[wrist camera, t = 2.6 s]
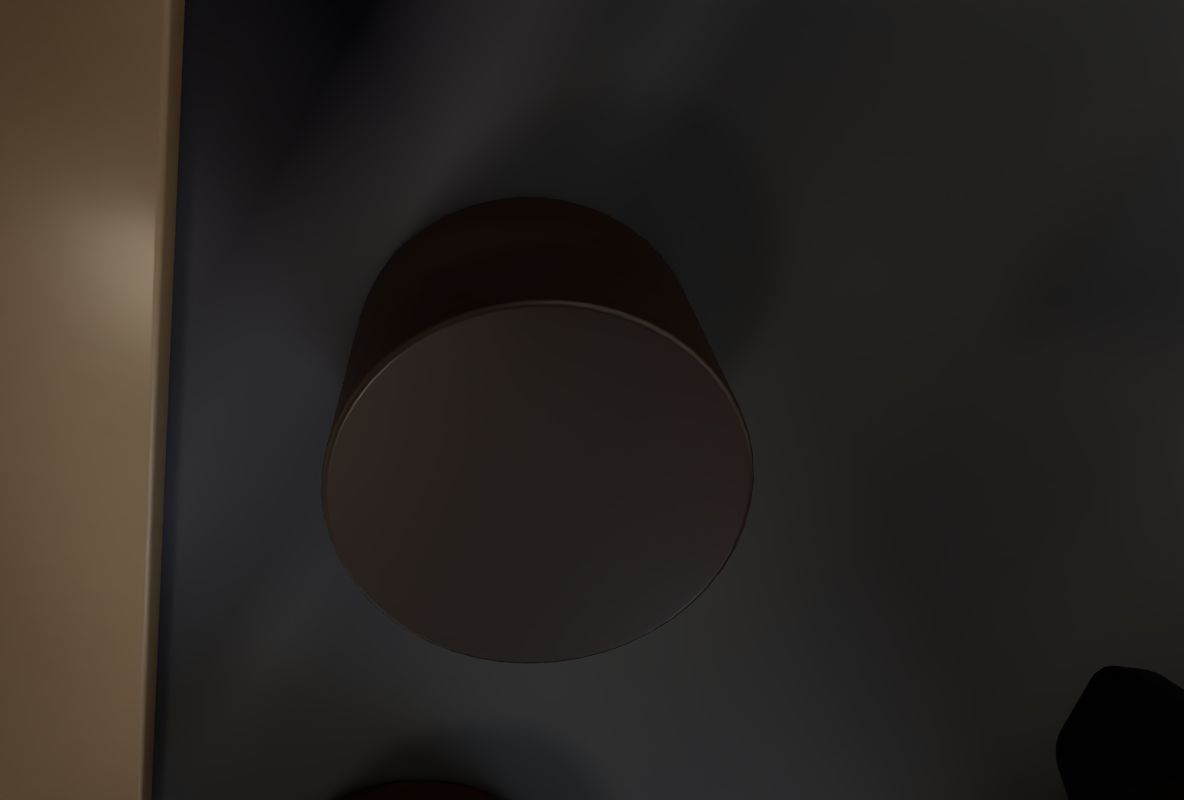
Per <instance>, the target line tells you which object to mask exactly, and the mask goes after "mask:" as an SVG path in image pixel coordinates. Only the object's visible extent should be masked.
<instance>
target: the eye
mask: <svg viewBox="0 0 1184 800" xmlns="http://www.w3.org/2000/svg"><path fill="white" fill-rule="evenodd" d="M753 481H754V471H753V453H752V447H751V442H750V437H749V432H748V429H747V426H746V423H745V421H744V418H743V415H742V412H741V409H740V407H739V405H738V403H737V401H736V399H735V397H734V395H733V393H732V391H731V389H730V386H729V384H728V382H727V380H726V378H725V376H724V374H723V372H722V370H721V368H720V366H719V364H718V362H717V360H716V357H715V355H714V353H713V351H712V349H711V347H710V345H709V343H708V341H707V339H706V337H705V335H704V333H703V331H702V328H701V326H700V324H699V322H698V320H697V318H696V316H695V314H694V312H693V310H692V308H691V306H690V304H689V301H688V299H687V297H686V295H685V293H684V291H683V289H682V287H681V286H680V284H679V282H678V280H677V278H676V276H675V274H674V273H673V271H672V270H671V269H670V267H669V266H668V265H667V263H666V262H665V260H664V259H663V258H662V256H661V255H660V254H659V253H658V252H657V251H656V250H655V249H654V248H653V247H652V246H651V245H650V244H649V243H648V242H647V241H646V240H645V239H643V238H642V237H641V236H640V235H638V234H637V233H636V232H634V231H633V230H632V229H630V228H629V227H628V226H626V225H624V224H623V223H621V222H619V221H617V220H616V219H614V218H612V217H610V216H609V215H606V214H604V213H601V212H599V211H596V210H594V209H591V208H589V207H586V206H583V205H579V204H575V203H571V202H567V201H563V200H555V199H547V198H510V199H502V200H494V201H489V202H486V203H482V204H478V205H474V206H470V207H467V208H465V209H463V210H460V211H458V212H455V213H453V214H450V215H448V216H446V217H444V218H442V219H440V220H439V221H437V222H435V223H433V224H432V225H430V226H428V227H426V228H425V229H424V230H422V231H421V232H420V233H419V234H417V235H416V236H415V237H413V238H412V239H411V240H409V241H408V242H407V243H406V244H405V245H404V246H403V247H402V248H401V249H400V250H399V251H398V252H397V253H396V254H395V255H394V256H393V257H392V258H391V260H390V261H389V262H388V264H387V265H386V266H385V268H384V269H383V270H382V272H381V273H380V274H379V276H378V277H377V279H376V281H375V283H374V285H373V287H372V288H371V290H370V292H369V294H368V296H367V299H366V302H365V304H364V307H363V310H362V312H361V315H360V319H359V323H358V327H357V331H356V335H355V339H354V343H353V346H352V350H351V354H350V358H349V362H348V366H347V370H346V374H345V378H344V382H343V385H342V389H341V393H340V397H339V401H338V405H337V409H336V413H335V417H334V421H333V424H332V428H331V432H330V436H329V440H328V444H327V449H326V454H325V459H324V464H323V471H322V501H323V509H324V517H325V521H326V524H327V528H328V531H329V535H330V538H331V541H332V543H333V545H334V548H335V550H336V552H337V554H338V556H339V559H340V561H341V563H342V564H343V566H344V568H345V569H346V571H347V572H348V574H349V575H350V577H351V578H352V580H353V581H354V583H355V584H356V586H357V587H358V588H359V589H360V590H361V591H362V592H363V594H364V595H365V596H366V597H367V598H368V599H369V601H370V602H371V603H373V604H374V605H375V606H376V607H377V608H378V609H379V610H380V611H382V612H383V613H384V614H385V615H386V616H387V617H388V618H390V619H391V620H393V621H394V622H396V623H397V624H399V625H400V626H401V627H403V628H404V629H406V630H407V631H409V632H411V633H413V634H415V635H416V636H418V637H420V638H422V639H424V640H426V641H428V642H430V643H432V644H435V645H437V646H440V647H443V648H445V649H448V650H450V651H453V652H456V653H460V654H464V655H468V656H472V657H475V658H480V659H486V660H493V661H499V662H510V663H548V662H559V661H566V660H572V659H579V658H583V657H587V656H591V655H595V654H599V653H603V652H606V651H609V650H612V649H614V648H617V647H620V646H623V645H625V644H628V643H630V642H632V641H634V640H636V639H638V638H640V637H643V636H645V635H647V634H649V633H651V632H652V631H654V630H656V629H657V628H659V627H660V626H662V625H664V624H665V623H667V622H668V621H670V620H672V619H673V618H674V617H675V616H677V615H678V614H679V613H680V612H682V611H683V610H684V609H686V608H687V607H688V606H689V605H691V604H692V603H693V602H694V601H695V600H696V599H697V598H698V597H699V596H700V595H701V594H702V593H703V592H704V591H705V590H706V589H707V588H708V587H709V585H710V584H711V583H712V582H713V580H714V579H715V578H716V576H717V575H718V574H719V573H720V571H721V570H722V569H723V567H724V566H725V564H726V562H727V561H728V559H729V557H730V556H731V554H732V552H733V551H734V549H735V547H736V544H737V542H738V540H739V538H740V535H741V533H742V531H743V528H744V525H745V522H746V518H747V515H748V511H749V507H750V504H751V497H752V489H753Z"/></svg>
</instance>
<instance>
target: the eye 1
mask: <svg viewBox="0 0 1184 800" xmlns="http://www.w3.org/2000/svg"><path fill="white" fill-rule="evenodd" d="M340 800H501V799H500V798H498V797H496V796H493V795H491V794H489V793H487V792H485V791H482V790H479V789H476V788H473V787H470V786H465V785H461V784H456V783H450V782H442V781H426V780H416V781H401V782H394V783H388V784H383V785H379V786H375V787H371V788H367V789H364V790H361V791H359V792H356V793H353V794H351V795H349V796H347V797H344V798H342V799H340Z"/></svg>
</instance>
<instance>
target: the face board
mask: <svg viewBox="0 0 1184 800" xmlns="http://www.w3.org/2000/svg"><path fill="white" fill-rule="evenodd" d="M184 11H185V0H0V800H151V798H152V775H153V751H154V727H155V703H156V679H157V655H158V631H159V608H160V584H161V560H162V536H163V512H164V488H165V464H166V441H167V417H168V393H169V369H170V345H171V321H172V297H173V274H174V250H175V226H176V202H177V178H178V154H179V130H180V107H181V83H182V59H183V35H184Z"/></svg>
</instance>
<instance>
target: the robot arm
mask: <svg viewBox="0 0 1184 800" xmlns="http://www.w3.org/2000/svg"><path fill="white" fill-rule="evenodd" d="M1056 760H1057V765H1058V769H1059V772H1060V775H1061V778H1062V781H1063V784H1064V787H1065V790H1066V793H1067V796H1068V799H1069V800H1184V690H1183V689H1182V688H1180V687H1179V686H1177V685H1176V684H1174V683H1172V682H1171V681H1169V680H1168V679H1166V678H1165V677H1163V676H1161V675H1160V674H1158V673H1156V672H1153V671H1150V670H1145V669H1138V668H1129V667H1120V666H1108V667H1103V668H1102V669H1101V670H1099V671H1098V672H1096V673H1095V674H1094V675H1093V677H1092V678H1091V679H1090V681H1089V683H1088V685H1087V686H1086V688H1085V690H1084V691H1083V693H1082V695H1081V697H1080V698H1079V700H1078V702H1077V703H1076V705H1075V707H1074V709H1073V710H1072V712H1071V714H1070V715H1069V717H1068V719H1067V721H1066V722H1065V724H1064V726H1063V727H1062V729H1061V731H1060V733H1059V735H1058V739H1057V743H1056Z"/></svg>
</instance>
